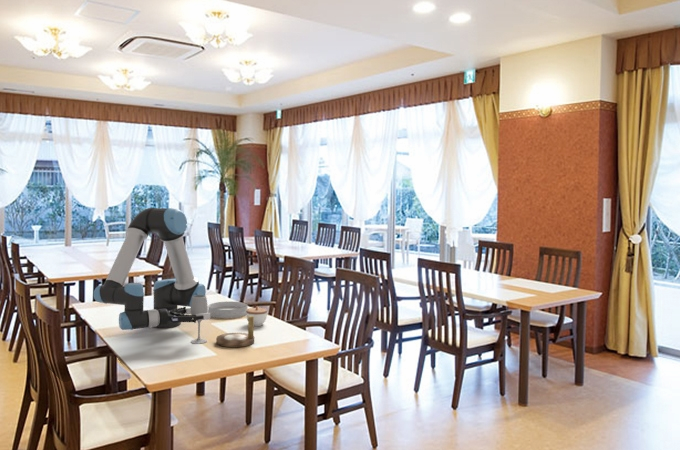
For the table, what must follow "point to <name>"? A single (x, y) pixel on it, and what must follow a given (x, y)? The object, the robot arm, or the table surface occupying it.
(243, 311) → the dish
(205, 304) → the wineglass
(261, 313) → the lidded jar
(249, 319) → the wooden holder stand
